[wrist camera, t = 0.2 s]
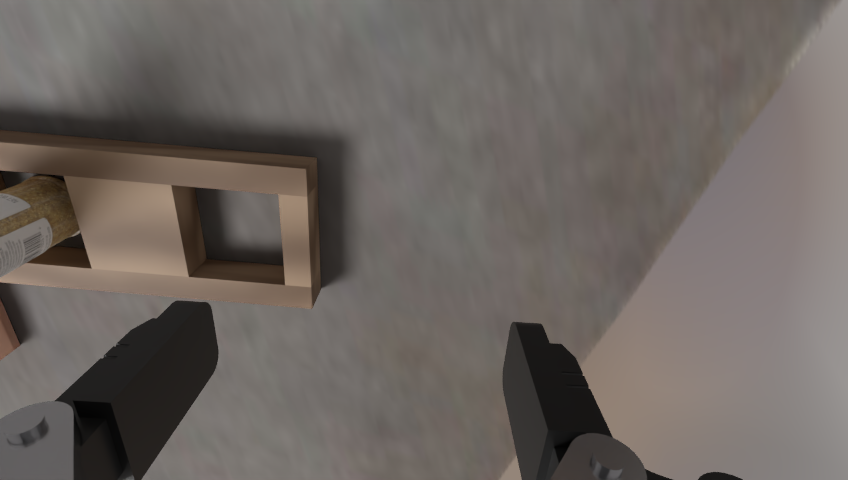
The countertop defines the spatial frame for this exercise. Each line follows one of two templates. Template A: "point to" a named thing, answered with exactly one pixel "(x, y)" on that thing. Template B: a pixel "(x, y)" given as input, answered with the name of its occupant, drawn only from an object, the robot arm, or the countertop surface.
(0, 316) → the terracotta tray
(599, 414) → the robot arm
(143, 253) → the walnut rack
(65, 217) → the sprinkles bottle
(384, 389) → the countertop surface
